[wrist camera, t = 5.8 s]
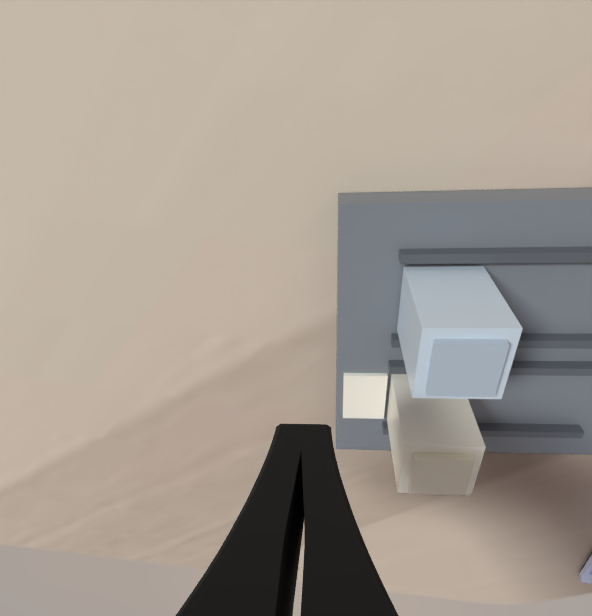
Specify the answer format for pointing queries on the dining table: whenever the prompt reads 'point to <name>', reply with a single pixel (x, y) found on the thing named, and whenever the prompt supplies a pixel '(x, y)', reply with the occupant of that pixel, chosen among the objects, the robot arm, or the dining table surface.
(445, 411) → the cream switch
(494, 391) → the grey switch
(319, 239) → the dining table surface
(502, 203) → the switch panel
